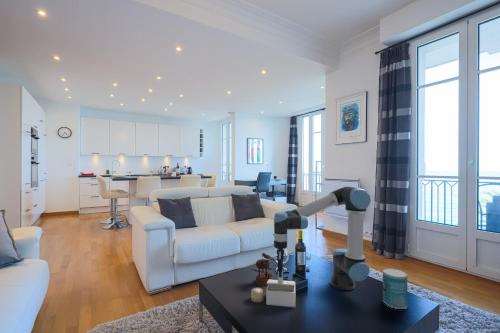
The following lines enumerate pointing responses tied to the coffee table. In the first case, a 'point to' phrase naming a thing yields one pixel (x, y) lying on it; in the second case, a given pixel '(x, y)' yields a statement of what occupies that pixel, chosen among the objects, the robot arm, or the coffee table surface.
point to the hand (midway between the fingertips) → (280, 281)
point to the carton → (280, 295)
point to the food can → (395, 288)
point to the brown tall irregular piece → (263, 264)
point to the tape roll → (257, 295)
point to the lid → (281, 283)
